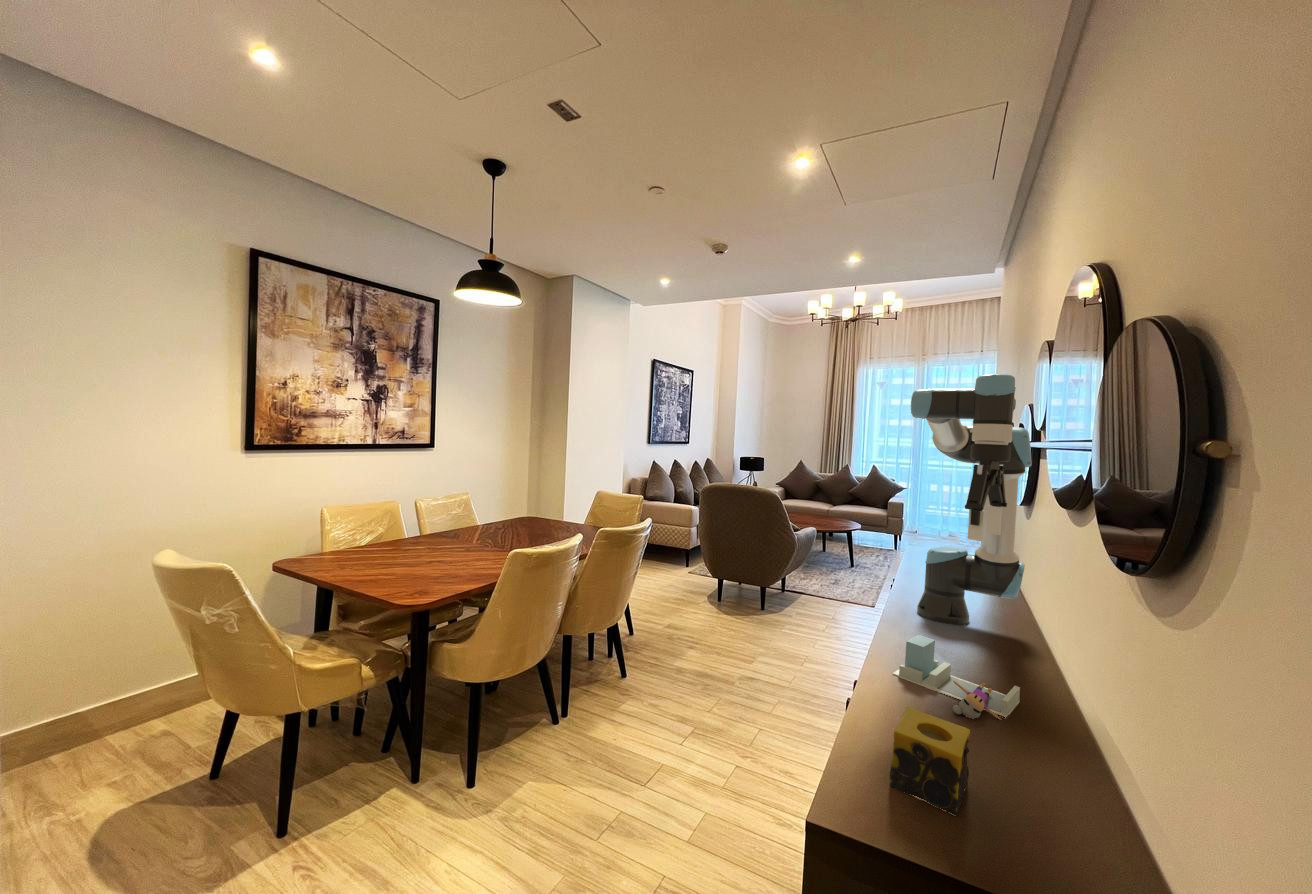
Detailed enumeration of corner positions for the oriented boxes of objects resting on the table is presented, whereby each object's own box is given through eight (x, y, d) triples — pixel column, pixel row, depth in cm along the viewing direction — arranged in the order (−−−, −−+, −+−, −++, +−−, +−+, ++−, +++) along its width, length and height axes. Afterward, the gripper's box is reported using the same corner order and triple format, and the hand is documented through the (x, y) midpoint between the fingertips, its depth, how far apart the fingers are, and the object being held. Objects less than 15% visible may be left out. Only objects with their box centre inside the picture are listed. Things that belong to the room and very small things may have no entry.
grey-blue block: (916, 665, 128) (918, 634, 127) (932, 671, 125) (935, 640, 124) (904, 673, 123) (906, 641, 123) (921, 679, 120) (923, 646, 120)
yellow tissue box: (903, 759, 91) (906, 705, 90) (968, 786, 84) (972, 728, 84) (887, 788, 83) (890, 729, 82) (957, 821, 76) (962, 756, 76)
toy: (1013, 702, 111) (1002, 722, 100) (997, 720, 113) (985, 741, 102) (967, 665, 118) (952, 680, 107) (952, 683, 119) (937, 699, 108)
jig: (910, 663, 130) (911, 649, 130) (1019, 702, 113) (1020, 686, 113) (892, 675, 123) (893, 661, 123) (1006, 719, 106) (1007, 702, 105)
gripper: (988, 443, 124) (982, 528, 125) (953, 441, 108) (946, 539, 108) (1024, 445, 119) (1018, 534, 119) (994, 443, 102) (987, 546, 103)
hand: (984, 537), depth 114 cm, fingers open, 13 cm apart
